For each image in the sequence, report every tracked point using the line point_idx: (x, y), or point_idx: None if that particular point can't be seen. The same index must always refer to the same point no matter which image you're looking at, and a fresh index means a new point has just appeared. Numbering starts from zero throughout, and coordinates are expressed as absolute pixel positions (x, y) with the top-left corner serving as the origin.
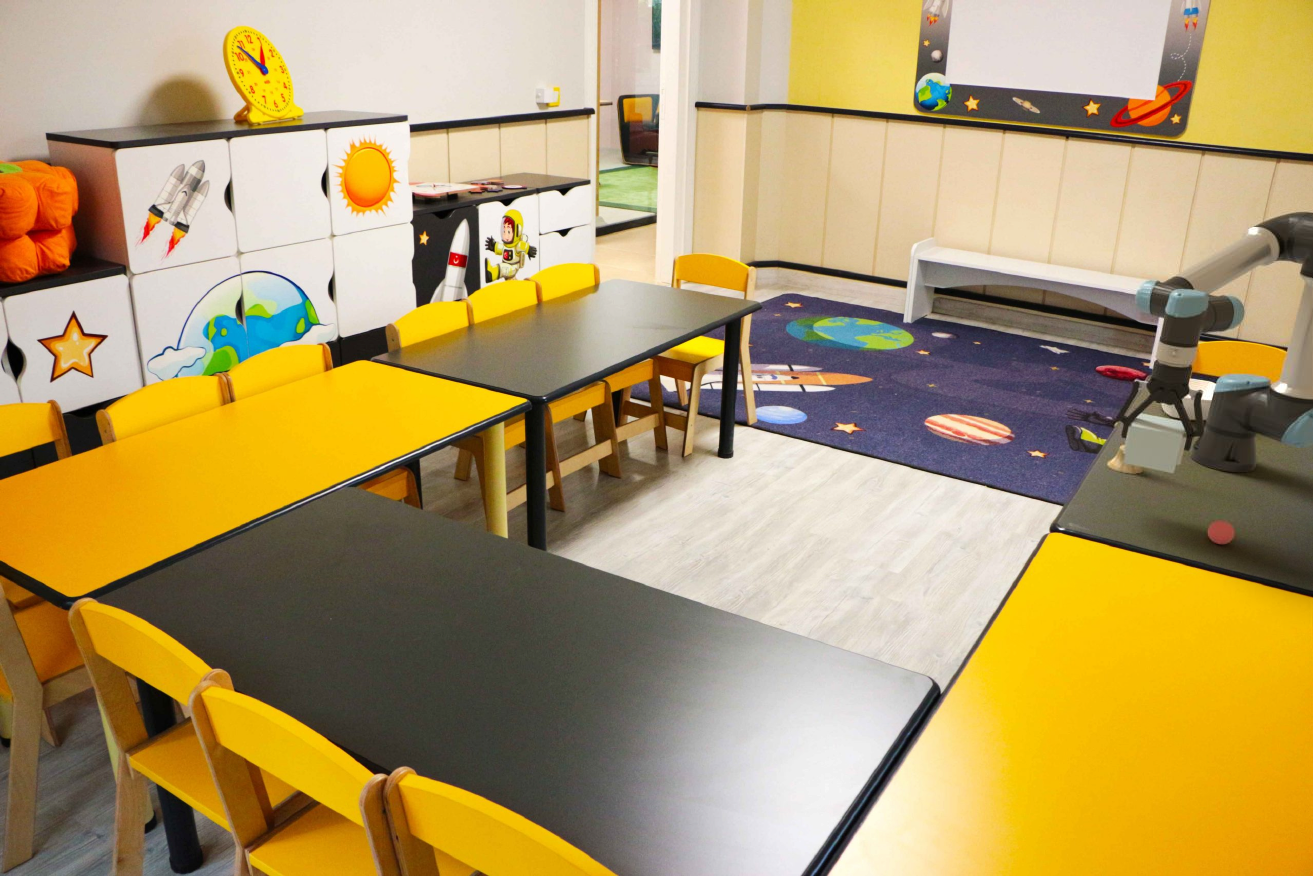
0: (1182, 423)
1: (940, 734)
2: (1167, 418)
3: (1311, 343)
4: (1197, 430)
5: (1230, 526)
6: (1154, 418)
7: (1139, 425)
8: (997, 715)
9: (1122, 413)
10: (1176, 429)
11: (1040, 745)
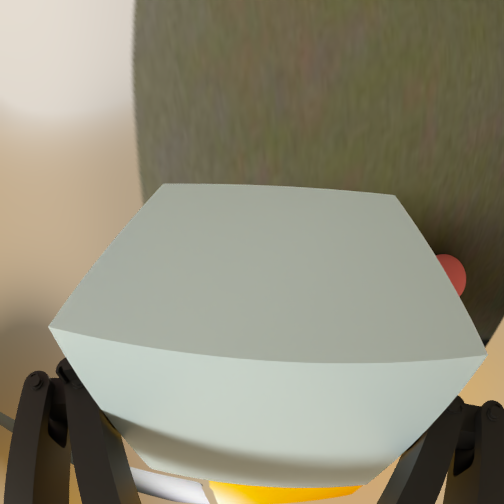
0: (383, 494)
1: (217, 491)
2: (322, 367)
3: None
4: (453, 459)
5: (459, 295)
6: (205, 402)
7: (175, 468)
8: (233, 487)
9: (61, 441)
10: (356, 464)
11: (255, 491)
